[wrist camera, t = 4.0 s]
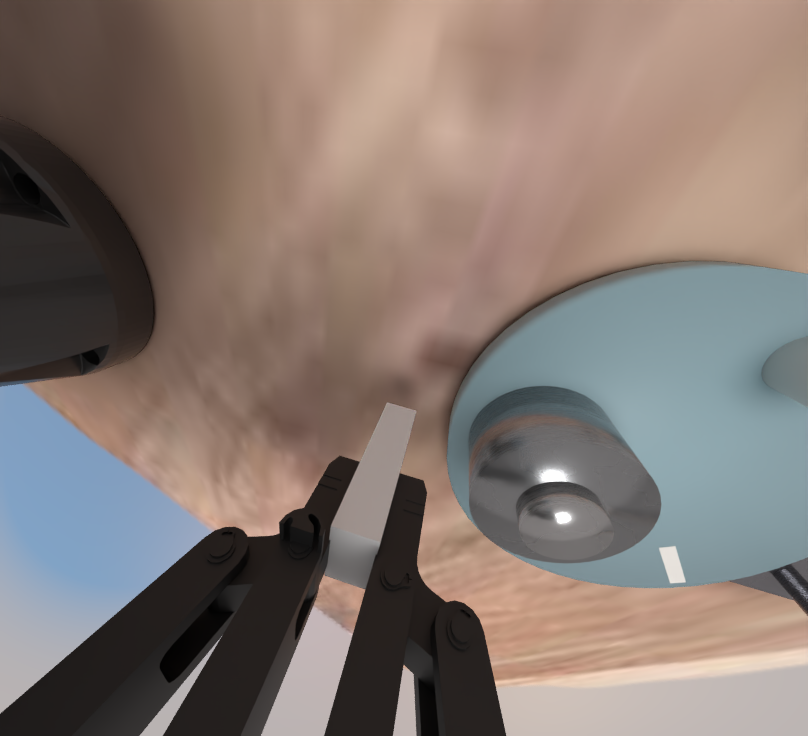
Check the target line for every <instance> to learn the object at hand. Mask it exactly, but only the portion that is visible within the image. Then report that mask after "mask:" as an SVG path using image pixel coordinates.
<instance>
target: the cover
mask: <svg viewBox="0 0 808 736" xmlns="http://www.w3.org/2000/svg"><path fill="white" fill-rule="evenodd" d="M468 445H469V508H470V512H471V516H472V518H473V520H474V522H475V524H476V525H477V527H478V528H479V529H480V531H481V532H482V533H483V534H484V535H485V536H486V537H487V538H488V539H490V540H491V541H492V542H494V543H495V544H496V545H498V546H500V547H502V548H503V549H505V550H507V551H509V552H512V553H514V554H516V555H519V556H522V557H525V558H529V559H533V560H538V561H543V562H551V563H583V562H590V561H596V560H601V559H604V558H608V557H611V556H614V555H616V554H619V553H622V552H623V551H625V550H627V549H629V548H631V547H633V546H634V545H636V544H637V543H639V542H640V541H641V540H642V539H644V538H645V537H646V536H647V535H648V534H649V533H650V531H651V530H652V529H653V528H654V526H655V524H656V523H657V521H658V518H659V515H660V512H661V495H660V492H659V489H658V487H657V485H656V483H655V482H654V480H653V478H652V477H651V475H650V474H649V473H648V471H647V470H646V468H645V467H644V466H643V464H642V463H641V462H640V460H639V459H638V457H637V456H636V455H635V453H634V452H633V450H632V449H631V448H630V446H629V445H628V444H627V442H626V441H625V439H624V438H623V437H622V435H621V434H620V432H619V431H618V430H617V428H616V427H615V425H614V424H613V423H612V421H611V420H610V419H609V417H608V416H607V414H606V413H605V412H604V411H603V409H602V408H601V407H600V406H599V405H598V404H596V403H595V402H594V401H593V400H591V399H590V398H588V397H587V396H585V395H583V394H580V393H578V392H576V391H573V390H570V389H566V388H561V387H555V386H532V387H525V388H521V389H516V390H513V391H510V392H508V393H505V394H503V395H501V396H499V397H497V398H496V399H494V400H493V401H491V402H490V403H488V404H487V405H486V406H485V407H484V408H483V409H482V410H481V411H480V412H479V413H478V415H477V416H476V418H475V419H474V421H473V423H472V425H471V428H470V431H469V438H468Z"/></svg>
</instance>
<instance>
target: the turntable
mask: <svg viewBox="0 0 808 736" xmlns="http://www.w3.org/2000/svg"><path fill="white" fill-rule="evenodd" d="M532 386H555V387H561V388H566V389H570V390H573V391H576V392H578V393H580V394H583V395H585V396H587V397H588V398H590V399H591V400H593V401H594V402H595V403H596V404H598V405H599V406H600V407H601V408H602V409H603V411H604V412H605V413H606V414H607V416H608V417H609V419H610V420H611V421H612V423H613V424H614V425H615V427H616V428H617V430H618V431H619V432H620V434H621V435H622V437H623V438H624V439H625V441H626V442H627V444H628V445H629V446H630V448H631V449H632V450H633V452H634V453H635V455H636V456H637V457H638V459H639V460H640V462H641V463H642V464H643V466H644V467H645V468H646V470H647V471H648V473H649V474H650V475H651V477H652V478H653V480H654V482H655V483H656V485H657V487H658V489H659V492H660V495H661V512H660V515H659V518H658V521H657V523H656V524H655V526H654V528H653V529H652V530H651V531H650V533H649V534H648V535H647V536H646V537H645V538H644V539H642V540H641V541H640V542H639V543H637V544H636V545H634V546H633V547H631V548H629V549H627V550H625V551H623V552H622V553H619V554H616V555H614V556H611V557H608V558H604V559H601V560H596V561H590V562H583V563H551V562H543V561H538V560H533V559H529V558H525V557H522V556H519V555H516V554H514V553H512V552H509V551H507V550H505V549H503V548H502V547H501V548H502V549H503V550H505V551H506V552H508V553H510V554H512V555H514V556H515V557H517V558H519V559H521V560H522V561H525V562H527V563H529V564H531V565H534V566H536V567H538V568H541V569H543V570H546V571H549V572H552V573H555V574H558V575H561V576H565V577H569V578H572V579H576V580H581V581H586V582H591V583H596V584H603V585H611V586H620V587H635V588H674V587H687V586H698V585H705V584H712V583H719V582H725V581H730V580H735V579H740V578H744V577H749V576H753V575H756V574H760V573H763V572H767V571H770V570H774V569H777V568H780V567H783V566H786V565H788V564H791V563H794V562H797V561H799V560H802V559H805V558H807V557H808V274H805V273H799V272H793V271H786V270H780V269H773V268H767V267H760V266H753V265H746V264H739V263H732V262H718V261H685V262H675V263H665V264H655V265H649V266H645V267H640V268H635V269H631V270H626V271H621V272H617V273H614V274H611V275H608V276H605V277H602V278H599V279H596V280H593V281H589V282H586V283H584V284H582V285H579V286H577V287H575V288H573V289H570V290H568V291H566V292H564V293H561V294H559V295H557V296H555V297H553V298H551V299H550V300H548V301H546V302H545V303H543V304H541V305H540V306H538V307H536V308H534V309H533V310H531V311H529V312H528V313H526V314H525V315H524V316H522V317H521V318H520V319H518V320H517V321H516V322H514V323H513V324H512V325H510V326H509V327H508V328H506V329H505V330H504V331H503V332H502V333H501V334H500V335H499V336H498V337H497V338H496V339H495V340H494V341H493V342H492V343H491V344H490V345H489V346H488V347H487V348H486V349H485V350H484V351H483V353H482V354H481V355H480V356H479V358H478V359H477V360H476V361H475V362H474V364H473V365H472V367H471V368H470V370H469V372H468V373H467V375H466V377H465V378H464V380H463V382H462V383H461V386H460V388H459V391H458V393H457V395H456V398H455V400H454V404H453V408H452V412H451V416H450V423H449V435H448V448H447V465H448V474H449V478H450V482H451V485H452V489H453V491H454V493H455V496H456V498H457V500H458V502H459V504H460V506H461V507H462V509H463V510H464V512H465V513H466V515H467V517H468V518H469V519H470V520H471V521H472V522H473V524H474V525H475V526H476V527H477V525H476V524H475V522H474V520H473V518H472V516H471V512H470V508H469V445H468V438H469V431H470V428H471V425H472V423H473V421H474V419H475V418H476V416H477V415H478V413H479V412H480V411H481V410H482V409H483V408H484V407H485V406H486V405H487V404H488V403H490V402H491V401H493V400H494V399H496V398H497V397H499V396H501V395H503V394H505V393H508V392H510V391H513V390H516V389H521V388H525V387H532ZM477 528H478V527H477ZM478 529H479V528H478ZM479 530H480V529H479ZM499 547H500V546H499Z"/></svg>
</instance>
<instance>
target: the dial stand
mask: <svg viewBox="0 0 808 736" xmlns="http://www.w3.org/2000/svg"><path fill="white" fill-rule="evenodd" d="M730 582H734V583H737V584H741V585H744V586H747V587H751V588H754V589H758V590H761V591H764V592H768V593H771V594H774V595H778V596H781V597H785V598H788V599H791V600H794V601H795V602H796V603H797V604H798V605H799V606H800V608H801V609H802V610H803V611H804V612H805V613H806V614H807V616H808V557H807V558H805V559H802V560H799V561H797V562H794V563H791V564H788V565H786V566H783V567H780V568H777V569H774V570H770V571H767V572H763V573H760V574H756V575H753V576H749V577H744V578H740V579H735V580H730Z"/></svg>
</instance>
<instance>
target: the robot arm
mask: <svg viewBox="0 0 808 736" xmlns="http://www.w3.org/2000/svg"><path fill="white" fill-rule="evenodd" d="M152 325H153V300H152V293H151V288H150V284H149V280H148V277H147V273H146V270H145V267H144V265H143V262H142V260H141V257H140V255H139V253H138V250H137V248H136V246H135V244H134V242H133V240H132V238H131V236H130V235H129V233H128V231H127V229H126V227H125V226H124V224H123V223H122V221H121V219H120V218H119V216H118V215H117V213H116V212H115V210H114V209H113V207H112V206H111V205H110V203H109V202H108V201H107V199H106V198H105V197H104V195H103V194H102V193H101V192H100V190H99V189H98V188H97V187H96V186H95V184H94V183H93V182H92V181H91V180H90V179H89V178H88V177H87V175H86V174H85V173H84V172H83V171H82V170H81V169H80V168H79V167H78V166H77V165H76V164H75V163H74V162H72V161H71V160H70V159H69V158H68V157H67V156H66V155H65V154H64V153H62V152H61V151H60V150H59V149H58V148H56V147H55V146H54V145H52V144H51V143H50V142H48V141H47V140H46V139H44V138H43V137H41V136H40V135H38V134H37V133H35V132H33V131H32V130H30V129H28V128H26V127H25V126H23V125H21V124H19V123H17V122H14V121H12V120H10V119H7V118H4V117H2V116H0V387H1V386H8V385H15V384H23V383H30V382H37V381H45V380H52V379H59V378H66V377H74V376H81V375H87V374H91V373H95V372H98V371H101V370H104V369H106V368H109V367H111V366H113V365H116V364H118V363H121V362H123V361H126V360H128V359H130V358H132V357H134V356H135V355H137V354H138V353H139V352H140V351H141V350H142V349H143V348H144V346H145V345H146V343H147V341H148V339H149V337H150V334H151V330H152ZM416 412H417V411H416V410H413V409H409V408H405V407H402V406H398V405H395V404H391V403H388V402H387V403H386V406H385V408H384V410H383V412H382V414H381V417H380V419H379V421H378V423H377V425H376V428H375V430H374V432H373V434H372V436H371V439H370V441H369V443H368V445H367V447H366V450H365V452H364V454H363V456H362V458H361V461H360V462H358V461H355V460H352V459H348V458H345V457H342V456H339V457H338V458H336V459H335V460H334V461H332V462H331V463H330V464H329V466H328V467H327V469H326V471H325V473H324V474H323V477H322V478H321V479H320V481H319V483H318V485H317V486H316V488H315V490H314V492H313V493H312V495H311V497H310V499H309V500H308V502H307V504H306V505H305V507H304V508H302V509H297V510H294V511H292V512H290V513H289V514H287V515H286V516H285V517H284V518H283V519H282V520H281V521H280V522H279V528H280V534H277V535H273V536H259V537H247V535H246V534H245V532H244V531H243V530H242V529H239V528H236V527H224V528H221V529H218V530H215V531H214V532H212V533H211V534H209V535H208V536H206V537H205V538H204V539H202V540H201V541H200V542H199V543H198V544H197V545H196V546H194V547H193V548H192V549H191V550H190V551H189V552H187V553H186V554H185V555H184V556H183V557H182V558H181V559H179V560H178V561H177V562H176V563H175V564H174V565H172V566H171V567H170V568H169V569H168V570H167V571H166V572H165V573H163V574H162V575H161V576H160V577H158V578H157V579H156V580H155V581H154V582H153V583H152V584H150V585H149V586H148V587H147V588H146V589H145V590H144V591H142V592H141V593H140V594H139V595H138V596H136V597H135V598H134V599H133V600H132V601H131V602H129V603H128V604H127V605H126V606H125V607H124V608H122V609H121V610H120V611H119V612H118V613H117V614H116V615H114V617H112V618H111V619H110V620H109V621H107V622H106V623H105V624H104V625H103V626H102V627H100V628H99V629H98V630H97V631H96V632H95V633H93V635H91V636H90V637H89V638H88V639H87V640H85V641H84V642H83V643H82V644H81V645H80V646H78V647H77V648H76V649H75V650H74V651H73V652H71V654H69V655H68V656H67V657H66V658H64V659H63V660H62V661H61V662H60V663H59V664H58V665H56V666H55V667H54V668H53V669H52V670H51V671H49V672H48V673H47V674H46V675H45V676H44V677H42V678H41V679H40V680H39V681H38V682H37V683H35V684H34V685H33V686H32V687H31V688H30V689H28V690H27V691H26V692H25V693H24V694H23V695H22V696H20V697H19V698H18V699H17V700H16V701H15V702H13V703H12V704H11V705H10V706H9V707H8V708H6V709H5V710H4V711H3V712H2V713H1V714H0V736H139V735H140V734H141V733H142V732H143V731H144V729H145V728H146V727H147V726H148V724H149V723H150V722H151V721H152V720H153V718H154V717H155V716H156V715H157V713H158V712H159V711H160V710H161V709H162V708H163V706H164V705H165V704H166V703H167V702H168V700H169V699H170V698H171V697H172V695H173V694H174V693H175V692H176V691H177V689H178V688H179V687H180V686H181V684H182V683H183V682H184V681H185V680H186V679H187V677H188V676H189V675H190V674H191V672H192V671H193V670H194V669H195V668H196V666H197V665H198V664H199V663H200V662H201V660H202V659H203V658H204V657H205V656H206V654H207V653H208V652H209V651H210V649H211V648H212V647H213V646H214V645H215V643H216V642H217V641H218V640H219V639H220V637H221V636H222V637H221V639H220V641H219V642H218V644H217V646H216V647H215V649H214V651H213V652H212V654H211V656H210V657H209V659H208V661H207V662H206V664H205V666H204V668H203V669H202V671H201V673H200V674H199V676H198V678H197V679H196V681H195V683H194V684H193V686H192V688H191V689H190V691H189V693H188V694H187V696H186V698H185V700H184V701H183V703H182V704H181V706H180V708H179V710H178V711H177V713H176V715H175V716H174V718H173V720H172V721H171V723H170V725H169V726H168V728H167V730H166V732H165V733H164V735H163V736H261V734H262V731H263V729H264V726H265V724H266V721H267V719H268V716H269V714H270V711H271V709H272V706H273V704H274V701H275V699H276V697H277V694H278V692H279V689H280V687H281V684H282V681H283V679H284V677H285V674H286V672H287V669H288V667H289V664H290V662H291V659H292V657H293V654H294V652H295V649H296V647H297V645H298V642H299V640H300V637H301V635H302V632H303V630H304V627H305V625H306V622H307V620H308V617H309V615H310V612H311V610H312V607H313V605H314V602H315V600H316V597H317V593H318V589H319V584H320V582H321V579H322V577H323V575H324V572H325V576H328V577H331V578H334V579H337V580H339V581H342V582H345V583H348V584H351V585H354V586H357V587H360V588H363V589H366V590H365V594H364V597H363V601H362V604H361V608H360V611H359V615H358V618H357V622H356V625H355V629H354V632H353V636H352V640H351V643H350V647H349V650H348V654H347V657H346V661H345V665H344V668H343V671H342V675H341V678H340V682H339V685H338V689H337V693H336V696H335V700H334V703H333V707H332V710H331V714H330V718H329V721H328V724H327V728H326V731H325V735H324V736H393V731H394V724H395V717H396V710H397V704H398V697H399V691H400V684H401V677H402V670H403V664H404V665H405V666H406V667H407V668H408V669H409V670H410V671H411V672H412V673H413V674H414V689H415V710H416V731H417V736H506V733H505V728H504V724H503V719H502V714H501V709H500V705H499V700H498V695H497V691H496V686H495V682H494V677H493V672H492V668H491V663H490V658H489V654H488V649H487V644H486V640H485V635H484V631H483V628H482V625H481V623H480V620H479V618H478V617H477V616H476V614H475V613H474V611H473V610H472V609H471V608H469V607H468V606H467V605H466V604H464V603H461V602H458V601H450V602H445V601H444V600H443V599H441V598H440V597H439V596H438V595H436V594H435V593H434V592H433V591H431V590H430V589H429V588H428V587H427V586H426V585H425V583H424V582H423V580H422V579H421V576H420V574H419V572H418V567H417V554H418V548H419V541H420V535H421V528H422V522H423V515H424V509H425V502H426V496H427V491H426V488H425V484H424V481H423V480H420V479H417V478H413V477H410V476H407V475H403V474H400V470H401V467H402V463H403V459H404V456H405V452H406V448H407V445H408V441H409V437H410V434H411V430H412V426H413V423H414V419H415V415H416Z"/></svg>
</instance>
